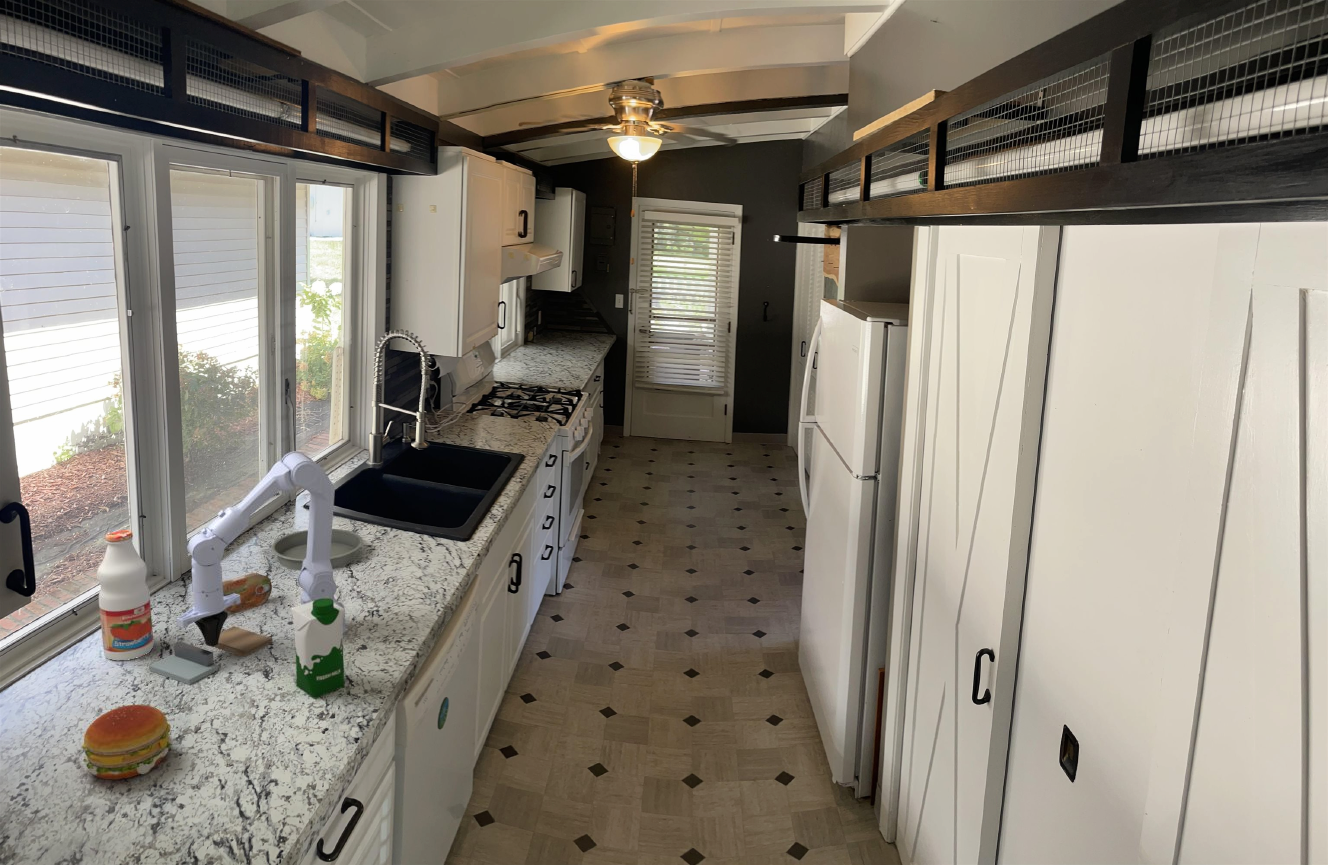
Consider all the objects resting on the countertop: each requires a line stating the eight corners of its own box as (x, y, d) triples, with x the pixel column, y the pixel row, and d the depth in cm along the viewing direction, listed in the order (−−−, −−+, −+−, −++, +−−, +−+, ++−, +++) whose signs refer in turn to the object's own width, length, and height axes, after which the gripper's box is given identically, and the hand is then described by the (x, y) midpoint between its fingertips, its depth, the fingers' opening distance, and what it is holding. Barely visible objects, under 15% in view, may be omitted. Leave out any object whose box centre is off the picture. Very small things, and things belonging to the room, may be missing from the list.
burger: (72, 763, 151) (67, 712, 149) (155, 731, 161) (151, 683, 159) (102, 796, 143) (97, 744, 141) (187, 761, 153) (183, 711, 151)
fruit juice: (138, 637, 195) (128, 522, 188) (163, 649, 190) (153, 532, 184) (95, 654, 187) (83, 534, 180) (119, 666, 182) (107, 544, 176)
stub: (218, 669, 183) (217, 653, 182) (189, 684, 177) (188, 667, 176) (178, 656, 188) (177, 639, 187) (149, 670, 181) (147, 653, 180)
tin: (213, 620, 205) (211, 588, 203) (206, 616, 207) (204, 584, 205) (273, 602, 217) (271, 571, 215) (266, 598, 219) (265, 567, 217)
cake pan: (252, 565, 239) (251, 549, 238) (311, 537, 262) (311, 523, 261) (326, 580, 232) (325, 565, 231) (380, 550, 255) (380, 536, 254)
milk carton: (311, 702, 174) (308, 612, 169) (289, 685, 180) (285, 598, 175) (350, 686, 181) (348, 599, 176) (328, 670, 186) (325, 586, 182)
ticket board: (272, 642, 197) (272, 637, 196) (243, 657, 189) (243, 652, 189) (234, 630, 201) (233, 625, 201) (204, 644, 194) (204, 639, 193)
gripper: (223, 572, 193) (226, 627, 196) (164, 595, 180) (169, 654, 183) (246, 578, 190) (249, 634, 194) (188, 603, 177) (193, 662, 180)
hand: (212, 644), depth 188 cm, fingers closed
